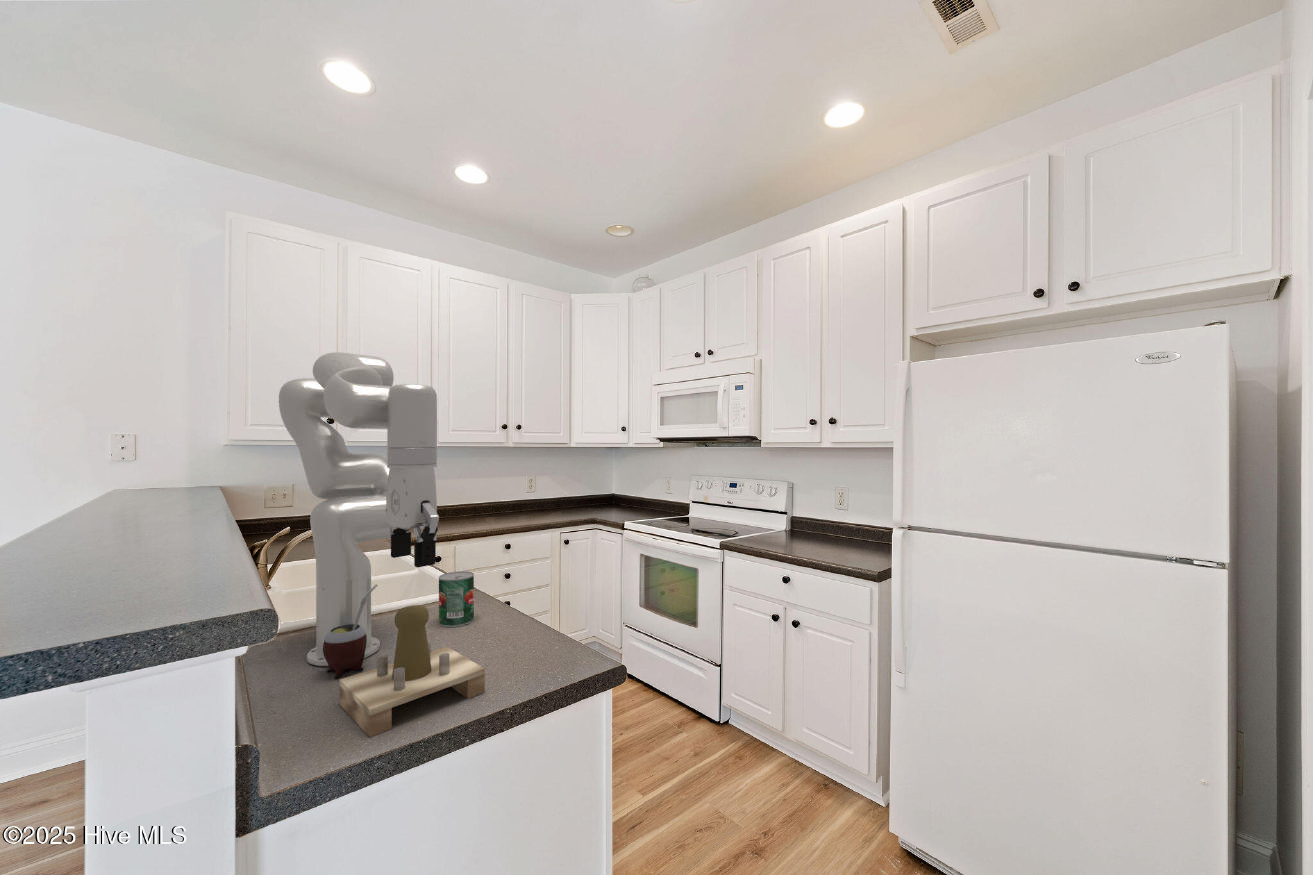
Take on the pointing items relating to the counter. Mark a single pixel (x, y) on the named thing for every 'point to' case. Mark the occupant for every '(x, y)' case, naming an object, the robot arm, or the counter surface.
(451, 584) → the canned tomato
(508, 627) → the counter surface
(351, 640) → the mate gourd
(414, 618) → the olive chess pawn
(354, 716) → the wooden board with pegs
